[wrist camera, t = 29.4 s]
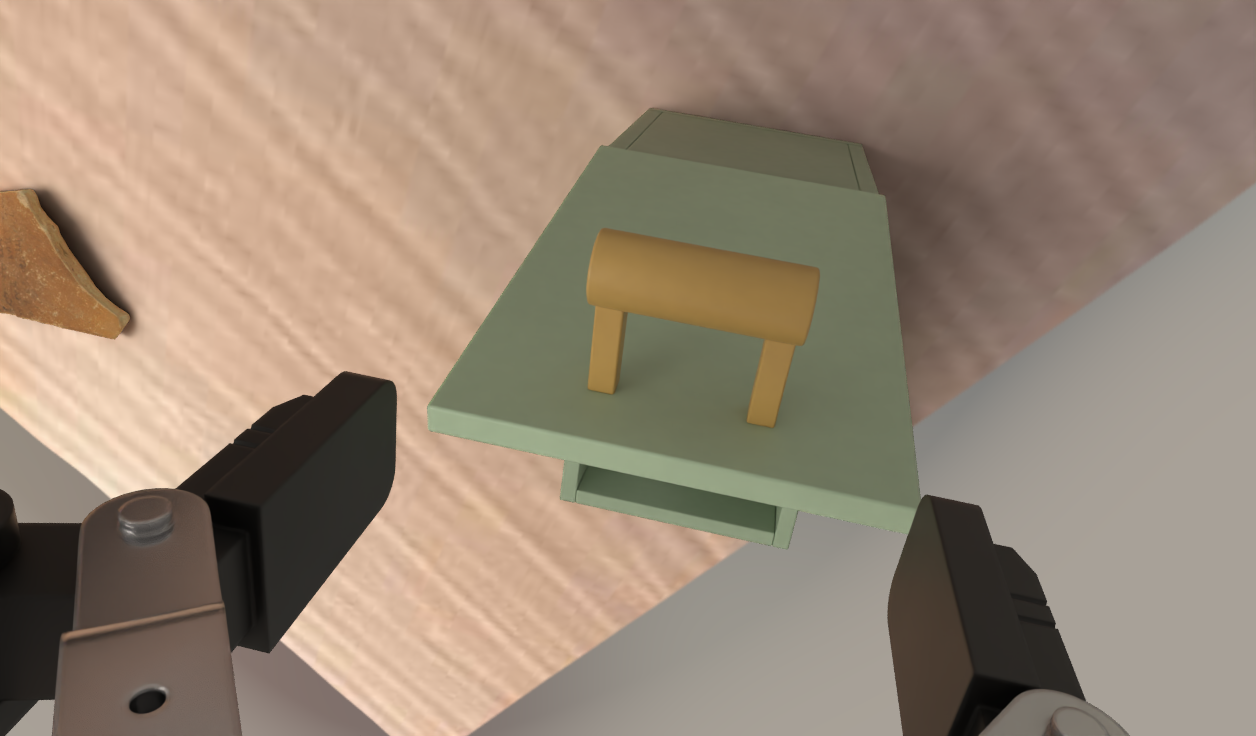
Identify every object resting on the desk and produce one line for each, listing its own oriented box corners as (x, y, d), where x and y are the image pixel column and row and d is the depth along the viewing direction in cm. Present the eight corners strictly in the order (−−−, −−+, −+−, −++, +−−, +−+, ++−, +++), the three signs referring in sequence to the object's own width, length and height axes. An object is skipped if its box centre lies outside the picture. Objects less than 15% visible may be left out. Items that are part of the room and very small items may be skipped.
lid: (913, 537, 20) (989, 355, 17) (426, 432, 21) (419, 245, 18) (880, 213, 35) (917, 88, 32) (598, 162, 36) (609, 38, 33)
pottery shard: (138, 332, 60) (112, 346, 58) (25, 337, 62) (-4, 351, 60) (84, 181, 56) (54, 190, 54) (-35, 191, 58) (-69, 200, 55)
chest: (790, 427, 54) (787, 550, 42) (609, 389, 55) (559, 500, 44) (862, 143, 46) (882, 201, 35) (649, 107, 47) (601, 151, 36)
